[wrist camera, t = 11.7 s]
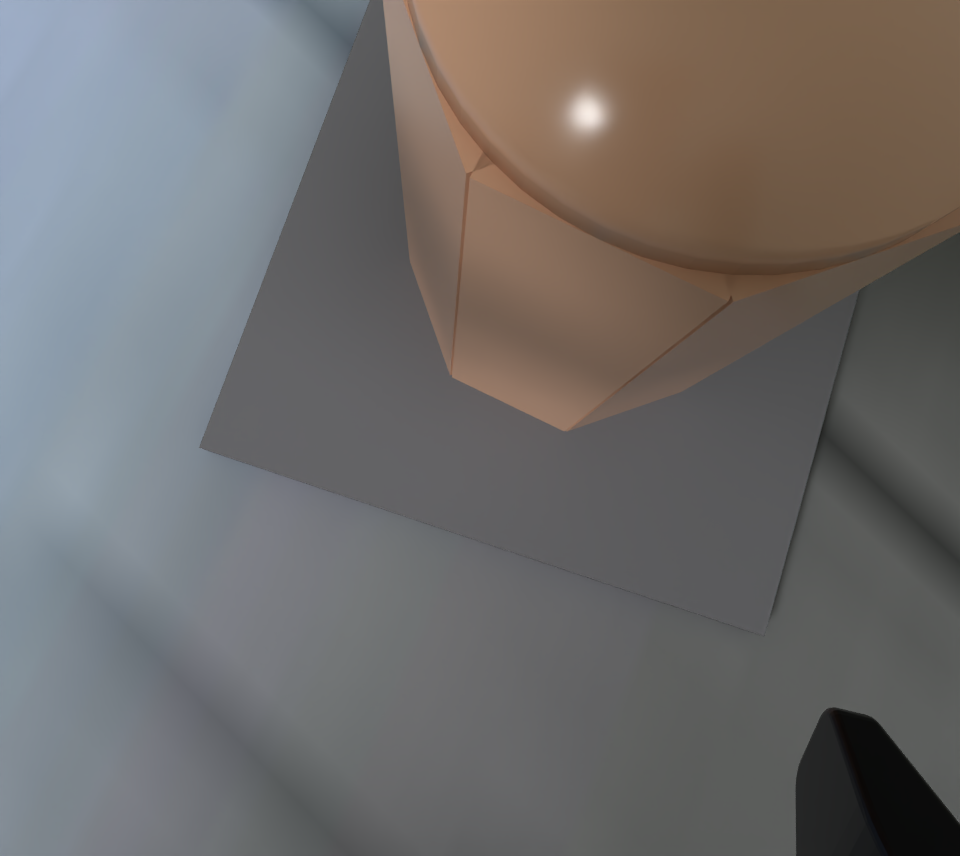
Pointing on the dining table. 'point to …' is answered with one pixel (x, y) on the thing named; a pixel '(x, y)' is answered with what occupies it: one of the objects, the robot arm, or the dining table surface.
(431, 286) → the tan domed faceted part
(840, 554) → the dining table surface
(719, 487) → the charcoal mat
